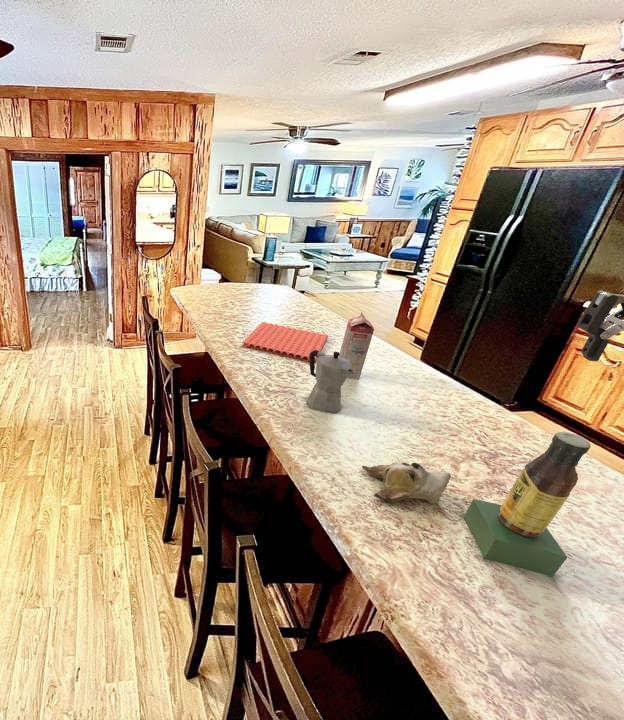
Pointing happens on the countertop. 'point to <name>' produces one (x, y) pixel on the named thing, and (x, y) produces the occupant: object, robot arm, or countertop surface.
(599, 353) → the robot arm
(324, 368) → the coffeepot
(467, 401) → the countertop surface
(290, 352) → the red corrugated roof tile
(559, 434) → the sauce bottle
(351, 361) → the juice carton
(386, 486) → the ceramic sculpture
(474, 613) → the countertop surface
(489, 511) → the green block
